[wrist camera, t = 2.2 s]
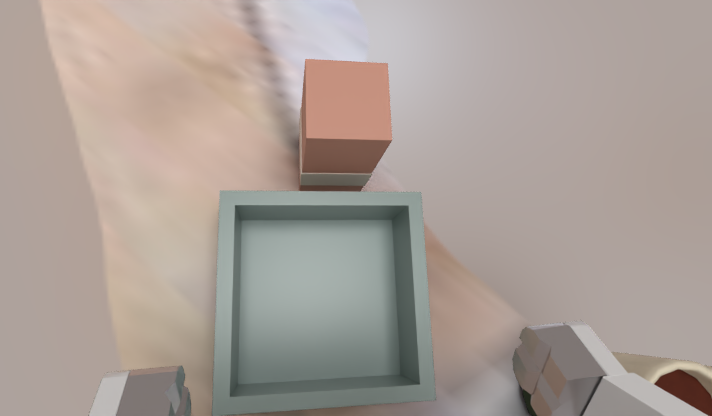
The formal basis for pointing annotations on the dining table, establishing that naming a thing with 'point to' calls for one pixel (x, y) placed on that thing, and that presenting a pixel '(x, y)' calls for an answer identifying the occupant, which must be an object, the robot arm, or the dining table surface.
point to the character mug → (667, 379)
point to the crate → (320, 301)
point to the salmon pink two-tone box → (342, 124)
